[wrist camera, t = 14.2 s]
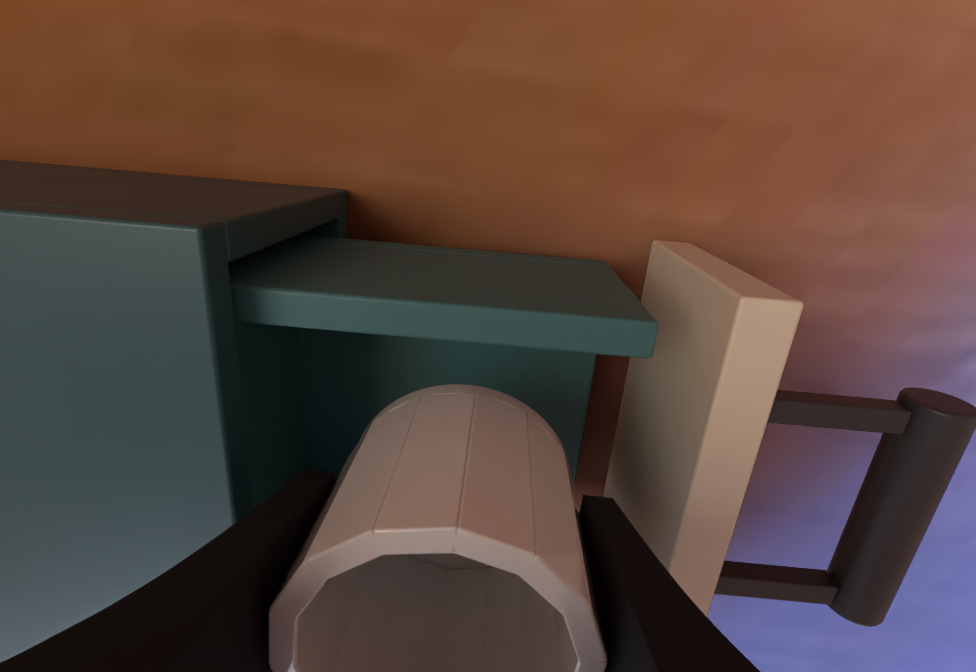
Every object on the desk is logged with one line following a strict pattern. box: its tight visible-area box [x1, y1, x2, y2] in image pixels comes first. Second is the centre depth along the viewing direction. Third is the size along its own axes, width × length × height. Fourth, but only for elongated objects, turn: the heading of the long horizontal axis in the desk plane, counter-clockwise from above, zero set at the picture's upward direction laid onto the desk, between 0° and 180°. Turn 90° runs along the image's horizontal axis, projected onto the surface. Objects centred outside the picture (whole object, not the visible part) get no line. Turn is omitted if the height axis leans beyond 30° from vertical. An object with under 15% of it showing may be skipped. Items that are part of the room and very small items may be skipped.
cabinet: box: [0, 160, 348, 663], centre depth 14 cm, size 14×12×8 cm
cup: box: [269, 384, 608, 672], centre depth 10 cm, size 5×5×4 cm
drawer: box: [228, 234, 976, 626], centre depth 14 cm, size 17×10×6 cm, turn 85°
